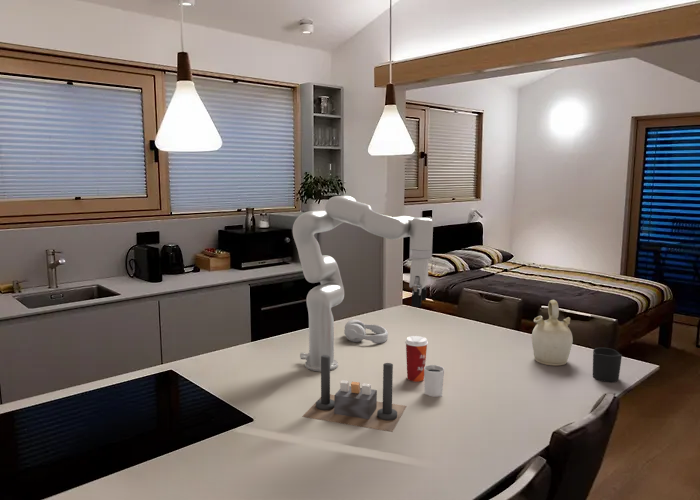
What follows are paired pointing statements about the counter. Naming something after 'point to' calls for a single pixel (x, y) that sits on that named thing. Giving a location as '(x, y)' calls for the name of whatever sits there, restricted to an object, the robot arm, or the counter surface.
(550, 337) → the jug
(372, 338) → the headphones
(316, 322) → the robot arm
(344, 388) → the paddle left
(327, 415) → the breaker panel
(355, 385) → the paddle middle
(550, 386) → the counter surface
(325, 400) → the cord post left
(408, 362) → the coffee cup
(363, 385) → the paddle right
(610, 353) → the pen holder
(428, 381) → the white cup
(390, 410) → the cord post right
